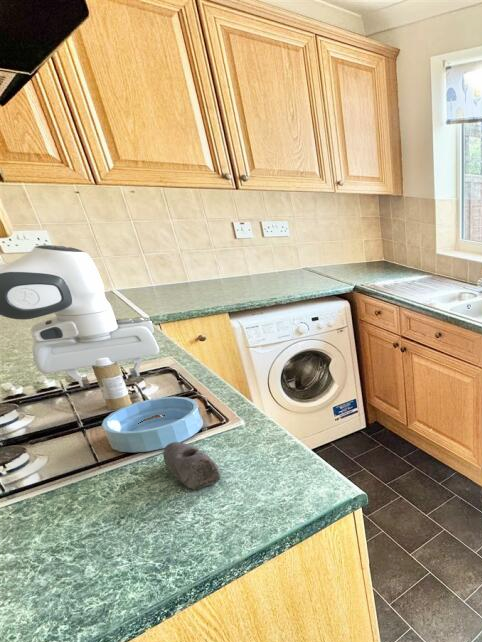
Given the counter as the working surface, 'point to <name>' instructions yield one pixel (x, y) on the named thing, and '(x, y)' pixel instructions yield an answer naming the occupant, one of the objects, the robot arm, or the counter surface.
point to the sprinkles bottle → (111, 384)
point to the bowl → (152, 424)
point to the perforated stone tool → (191, 465)
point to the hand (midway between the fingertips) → (111, 380)
